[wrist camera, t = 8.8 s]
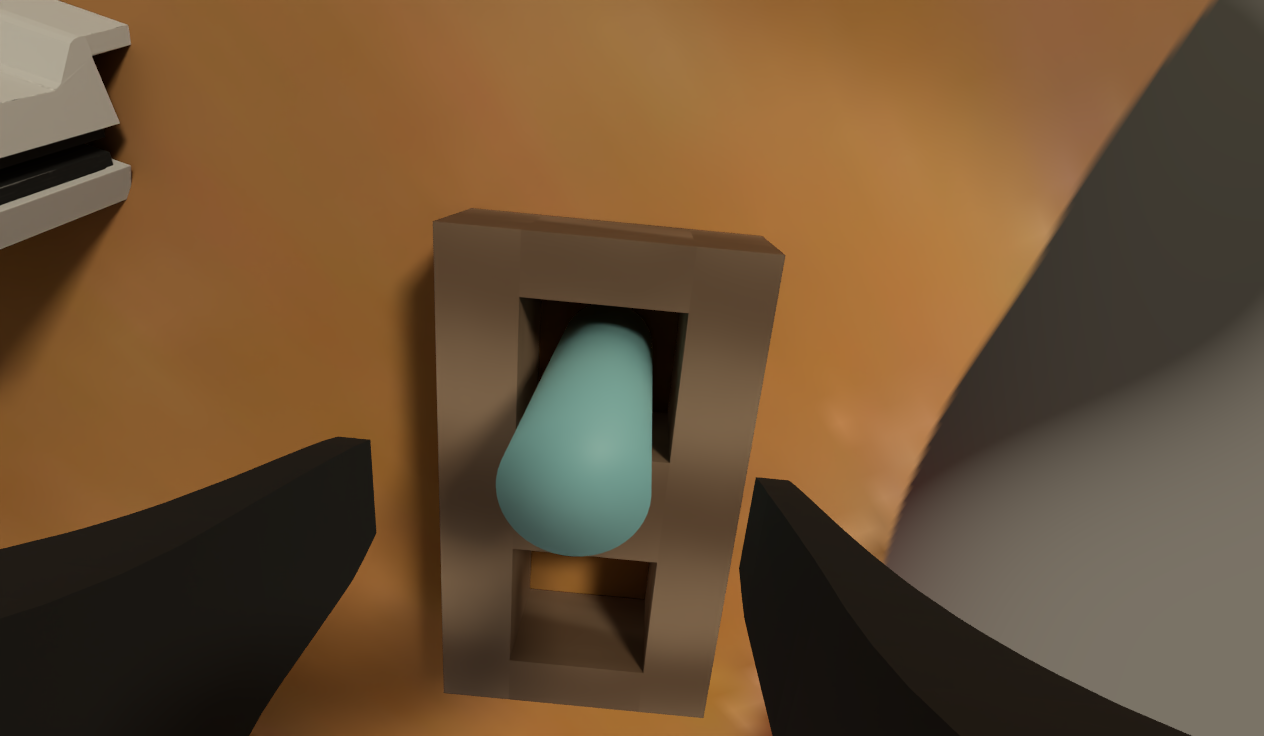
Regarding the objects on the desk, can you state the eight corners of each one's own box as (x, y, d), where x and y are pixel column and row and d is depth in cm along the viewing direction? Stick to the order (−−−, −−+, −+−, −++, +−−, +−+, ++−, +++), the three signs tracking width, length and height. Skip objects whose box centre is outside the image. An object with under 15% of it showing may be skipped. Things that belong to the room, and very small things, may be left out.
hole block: (696, 640, 24) (703, 717, 21) (472, 618, 24) (444, 693, 21) (762, 236, 19) (785, 255, 15) (471, 208, 19) (432, 221, 15)
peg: (650, 390, 21) (646, 561, 12) (561, 385, 21) (498, 551, 12) (655, 304, 20) (656, 425, 11) (562, 300, 20) (493, 415, 11)
